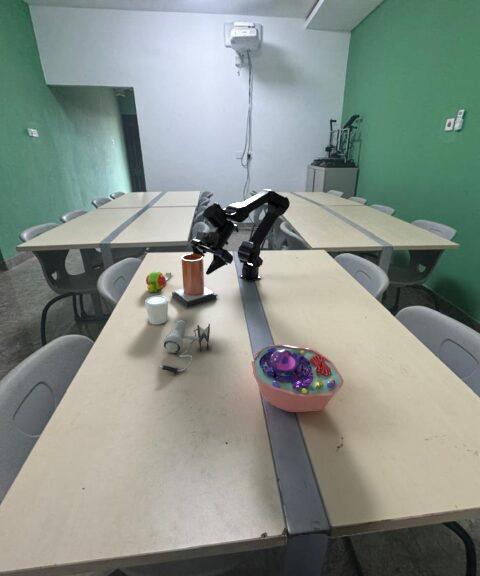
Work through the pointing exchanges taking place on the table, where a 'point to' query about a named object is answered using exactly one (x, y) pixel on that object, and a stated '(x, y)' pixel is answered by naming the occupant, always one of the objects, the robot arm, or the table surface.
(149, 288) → the toy measuring tape
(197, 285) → the cup
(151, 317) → the white cylinder
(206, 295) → the scale
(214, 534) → the table surface
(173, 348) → the clip-on lamp
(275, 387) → the cell model
